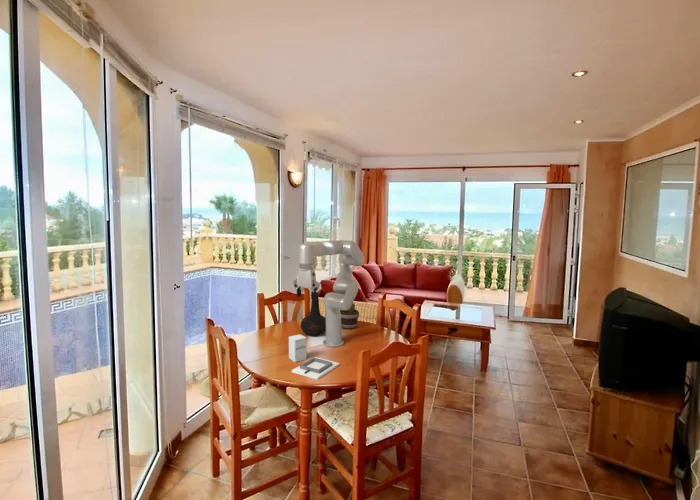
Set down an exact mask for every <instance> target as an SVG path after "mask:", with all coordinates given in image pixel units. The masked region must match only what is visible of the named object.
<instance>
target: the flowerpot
mask: <svg viewBox="0 0 700 500" xmlns="http://www.w3.org/2000/svg"><path fill="white" fill-rule="evenodd" d="M354 301H355V300H354ZM354 301H353V303H352V305H351V307H350V309H349V310H346V311H345V310H340V313H341V329H344V330H345V329H346V330H354V329H356V328H357V326H358V319H359V317H360V312H359V311H358V309H357V308H356V304H355V302H354Z"/></svg>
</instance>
